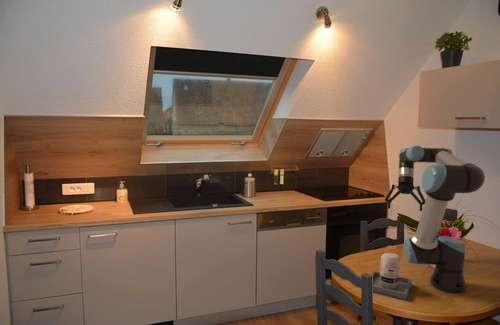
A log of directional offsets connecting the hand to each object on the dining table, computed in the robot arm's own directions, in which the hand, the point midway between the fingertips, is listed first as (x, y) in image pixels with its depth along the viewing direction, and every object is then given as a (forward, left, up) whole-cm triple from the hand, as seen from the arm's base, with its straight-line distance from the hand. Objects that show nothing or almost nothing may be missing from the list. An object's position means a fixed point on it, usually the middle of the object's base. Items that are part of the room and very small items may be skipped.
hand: (404, 216), depth 195 cm
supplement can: (+1, +28, -28) cm, 39 cm away
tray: (+1, +28, -28) cm, 40 cm away
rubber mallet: (-18, -25, -29) cm, 42 cm away
